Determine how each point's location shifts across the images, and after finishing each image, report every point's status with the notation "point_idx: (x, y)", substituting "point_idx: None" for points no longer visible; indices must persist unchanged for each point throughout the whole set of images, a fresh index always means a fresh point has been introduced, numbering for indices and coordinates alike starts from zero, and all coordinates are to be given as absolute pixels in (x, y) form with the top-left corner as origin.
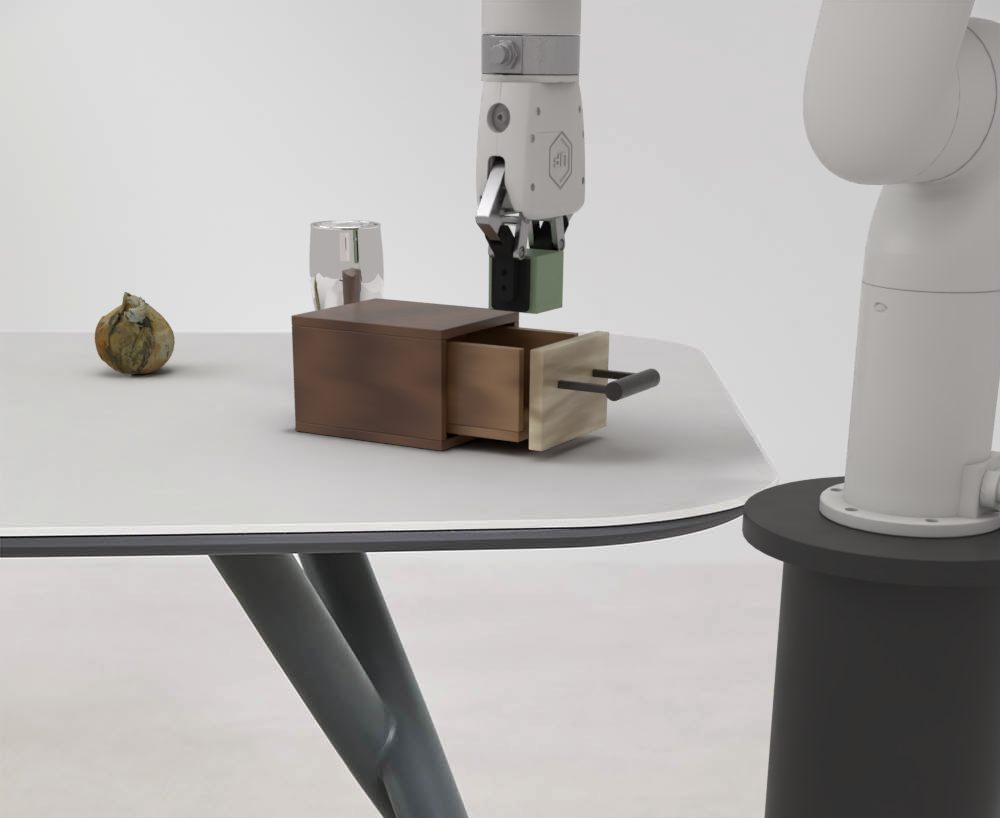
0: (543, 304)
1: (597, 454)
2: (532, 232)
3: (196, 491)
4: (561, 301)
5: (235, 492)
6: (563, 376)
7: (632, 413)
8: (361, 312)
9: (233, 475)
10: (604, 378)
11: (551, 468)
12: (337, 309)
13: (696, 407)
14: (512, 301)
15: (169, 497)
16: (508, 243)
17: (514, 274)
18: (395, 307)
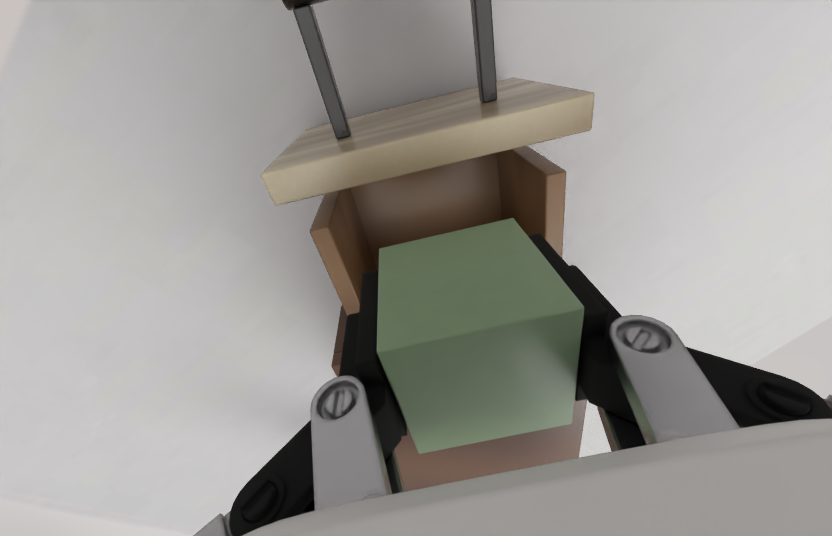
0: (483, 233)
1: (405, 50)
2: (400, 483)
3: (781, 251)
4: (385, 254)
5: (778, 226)
6: (474, 106)
7: (164, 209)
8: (510, 447)
9: (710, 274)
10: (302, 143)
11: (527, 38)
12: (507, 468)
13: (29, 172)
14: None
15: (809, 249)
16: (721, 370)
17: (602, 301)
18: (446, 454)
